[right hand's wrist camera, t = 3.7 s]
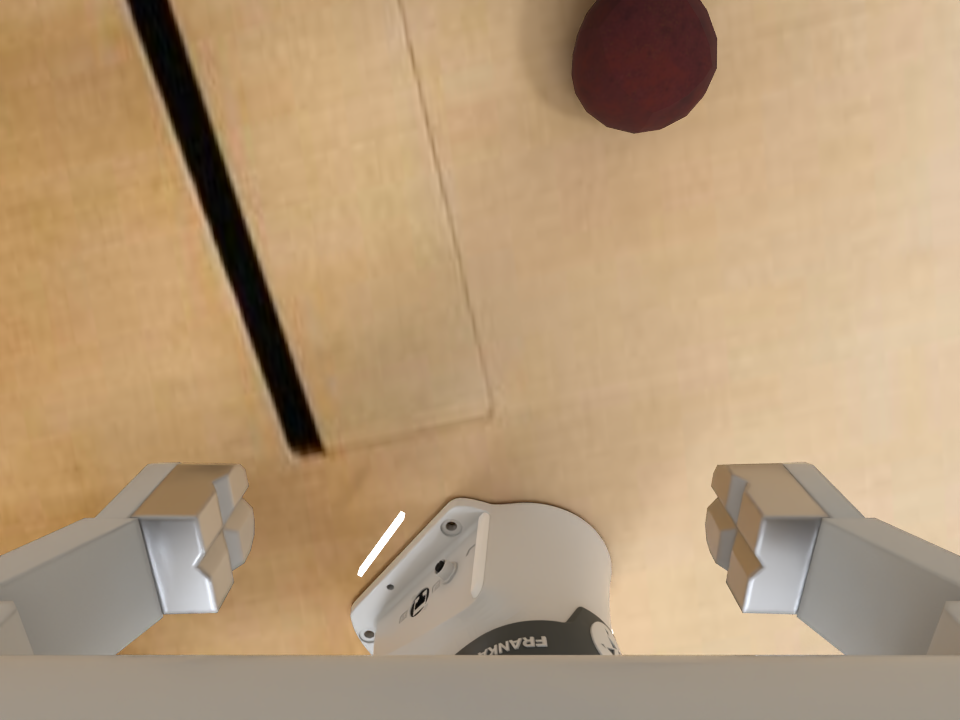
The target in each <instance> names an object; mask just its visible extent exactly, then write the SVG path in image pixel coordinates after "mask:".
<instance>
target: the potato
mask: <svg viewBox="0 0 960 720" xmlns="http://www.w3.org/2000/svg"><path fill="white" fill-rule="evenodd" d="M716 69H717V37H716V34H715V31H714V28H713V26H712V23H711V20H710V17H709V14H708V12H707V9H706V8H705V7H704V5H703V4H702V2H701V1H700V0H597V1H596V2H595V3H594V5H593V6H592V7H591V9H590V10H589V11H588V13H587V14H586V16H585V18H584V21H583V23H582V25H581V28H580V30H579V32H578V35H577V39H576V43H575V47H574V52H573V60H572V79H573V84H574V89H575V93H576V95H577V97H578V98H579V100H580V102H581V103H582V105H583V107H584V108H585V110H586V112H588V113H589V114H590V115H592V116H593V117H594V118H596V119H597V120H598V121H600V122H601V123H602V124H604V125H605V126H606V127H610V128H614V129H618V130H622V131H626V132H630V133H641V132H647V131H654V130H660V129H662V128H664V127H666V126H668V125H670V124H672V123H674V122H676V121H678V120H680V119H681V118H683V117H685V116H687V115H688V113H689V112H690V111H691V110H692V109H693V108H694V107H695V105H696V104H697V103H698V102H699V101H700V100H701V99H702V97H703V96H704V94H705V93H706V91H707V89H708V86H709V84H710V82H711V80H712V77H713V75H714V73H715V71H716Z"/></svg>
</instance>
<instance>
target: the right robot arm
mask: <svg viewBox="0 0 960 720" xmlns="http://www.w3.org/2000/svg"><path fill="white" fill-rule="evenodd" d="M248 487H249V484H248V479H247V475H246V470H245V468H244V467H243V466H242V465H241V464H218V463H180V462H174V463H152V464H147V465H146V467H145V468H144V469H143V470H142V471H141V472H140V473H139V474H138V475H137V476H136V477H135V478H134V479H133V480H132V481H131V482H130V483H129V484H128V485H127V486H126V487H125V488H124V489H123V490H122V491H121V492H120V493H119V494H118V495H117V496H116V497H115V498H114V499H113V500H112V501H111V502H110V503H109V504H108V505H107V506H106V507H105V508H104V509H103V510H102V511H101V512H100V513H99V514H98V515H97V516H96V517H95V518H84V519H81V520H79V521H77V522H75V523H72V524H70V525H68V526H66V527H64V528H61V529H59V530H57V531H55V532H52V533H50V534H48V535H46V536H44V537H41V538H39V539H37V540H35V541H32V542H30V543H28V544H26V545H23V546H21V547H19V548H17V549H15V550H12V551H10V552H8V553H6V554H3V555H1V556H0V720H960V556H959V555H956V554H954V553H952V552H950V551H948V550H945V549H943V548H941V547H939V546H936V545H934V544H932V543H930V542H928V541H925V540H923V539H921V538H919V537H916V536H914V535H912V534H910V533H907V532H905V531H903V530H901V529H899V528H896V527H894V526H892V525H890V524H887V523H885V522H883V521H881V520H879V519H876V518H865V517H864V516H863V515H862V514H861V513H860V512H859V511H858V510H857V509H856V508H855V507H854V506H853V505H852V504H851V503H850V502H849V501H848V500H847V499H846V498H845V497H844V496H843V495H842V494H841V493H840V492H839V491H838V490H837V489H836V488H835V487H834V486H833V485H832V484H831V483H830V482H829V480H828V479H827V478H826V477H825V476H824V475H823V474H822V473H821V472H820V471H819V470H818V469H817V468H816V467H815V466H814V465H812V464H809V463H806V462H797V463H770V464H730V465H717V467H716V469H715V471H714V473H713V478H712V484H711V487H712V488H713V490H714V491H715V493H716V495H717V496H718V498H717V499H716V500H715V501H714V502H713V503H712V504H711V505H710V506H709V507H708V508H707V514H706V522H705V528H706V540H707V544H708V547H709V550H710V553H711V555H712V557H713V559H714V561H715V563H716V564H718V565H719V566H721V567H722V568H724V569H725V570H727V571H728V574H727V579H726V583H727V585H728V587H729V589H730V591H731V592H732V594H733V596H734V598H735V600H736V602H737V603H738V605H739V607H740V609H741V611H742V613H767V614H797V617H798V618H799V619H800V620H801V621H803V622H804V623H805V624H807V625H808V626H809V627H810V628H812V629H813V630H814V631H815V632H817V633H818V634H819V635H820V636H822V637H823V638H824V639H826V640H827V641H828V642H829V643H831V644H832V645H833V646H834V647H836V648H837V649H838V650H839V651H841V652H842V653H843V654H845V655H622V654H621V651H620V649H619V646H618V644H617V642H616V639H615V637H614V635H613V631H612V626H611V616H610V582H611V575H612V566H611V559H610V555H609V552H608V549H607V547H606V545H605V543H604V541H603V539H602V538H601V537H600V535H599V534H598V533H597V532H596V530H595V529H594V528H593V527H592V526H590V525H589V524H588V523H587V522H586V521H584V520H583V519H581V518H580V517H578V516H577V515H575V514H573V513H571V512H569V511H566V510H564V509H561V508H558V507H554V506H550V505H546V504H539V503H512V504H489V503H486V502H482V501H478V500H474V499H469V498H456V499H453V500H451V501H450V502H449V503H448V504H447V505H446V506H445V507H444V508H443V509H442V510H441V511H440V512H439V513H438V514H437V515H436V516H435V517H434V518H433V519H432V520H431V521H430V522H429V524H428V525H427V526H426V527H425V528H424V529H423V530H422V531H421V532H420V533H419V534H418V535H417V536H416V537H415V538H414V539H413V540H412V541H411V543H410V544H409V545H408V546H407V547H406V548H405V549H404V550H403V551H402V552H401V553H400V554H399V555H398V556H397V557H396V558H395V559H394V560H393V562H392V563H391V564H390V565H389V566H388V567H387V568H386V569H385V570H384V571H383V572H382V573H381V574H380V575H379V576H378V577H377V578H376V579H375V580H374V582H373V583H372V584H371V585H370V586H369V587H368V588H367V589H366V590H365V591H364V592H363V593H362V594H361V595H360V596H359V597H358V599H357V600H356V601H355V602H354V603H353V605H352V607H351V621H352V624H353V627H354V630H355V632H356V634H357V636H358V638H359V639H360V641H361V642H362V644H363V645H364V646H365V648H366V649H367V650H368V651H369V652H370V653H371V655H116V654H117V653H118V652H119V651H121V650H122V649H123V648H125V647H126V646H127V645H128V644H130V643H131V642H132V641H133V640H135V639H136V638H137V637H138V636H140V635H141V634H142V633H144V632H145V631H146V630H147V629H149V628H150V627H151V626H152V625H154V624H155V623H156V622H157V621H159V620H160V619H161V618H163V614H191V613H218V611H219V609H220V607H221V605H222V603H223V602H224V600H225V598H226V596H227V594H228V592H229V591H230V589H231V587H232V585H233V583H234V579H233V574H232V571H233V570H234V569H236V568H238V567H239V566H241V565H242V564H244V563H245V561H246V559H247V557H248V555H249V553H250V551H251V547H252V542H253V538H254V526H255V520H254V513H253V508H252V507H251V506H250V505H249V504H248V503H247V502H246V501H245V500H244V499H243V498H242V496H243V495H244V493H245V491H246V490H247V488H248ZM404 515H405V513H404V512H402V511H401V512H400V513H399V515H398V516H397V518H396V519H395V520H394V522H393V523H392V524H391V526H390V527H389V528H388V530H387V531H386V533H385V534H384V535H383V537H382V538H381V539H380V541H379V542H378V544H377V545H376V546H375V548H374V549H373V550H372V552H371V553H370V554H369V556H368V557H367V559H366V560H365V561H364V563H363V564H362V565H361V567H360V568H359V572H358V575H359V576H361V577H362V575H363V574H364V572H365V571H366V570H367V568H368V567H369V566H370V564H371V563H372V562H373V560H374V559H375V558H376V556H377V555H378V553H379V552H380V551H381V549H382V548H383V547H384V545H385V544H386V543H387V541H388V540H389V539H390V537H391V536H392V535H393V533H394V532H395V530H396V529H397V528H398V526H399V525H400V524H401V522H402V521H403V520H404ZM448 522H455V523H456V524H454V525H450V524H448Z"/></svg>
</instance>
